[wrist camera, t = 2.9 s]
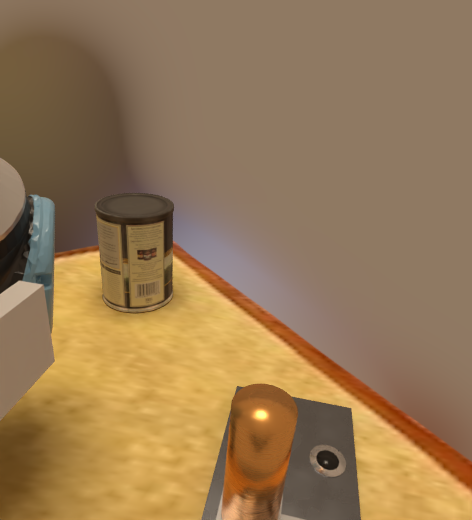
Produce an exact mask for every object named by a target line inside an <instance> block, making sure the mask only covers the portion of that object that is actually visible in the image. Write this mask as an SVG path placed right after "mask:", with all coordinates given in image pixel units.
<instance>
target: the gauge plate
mask: <svg viewBox="0 0 472 520" xmlns="http://www.w3.org/2000/svg"><path fill="white" fill-rule="evenodd" d="M242 388H244V387H239V386H237V389H236V392H235V394H236V393H237V392H238V391H239V390H240V389H242ZM292 398H293V400H294V401H295V403H296V405H297V408H298V417H297V423H296V428H295V433H294V438H293V443H292V448H291V454H290V459H289V464H288V469H287V474H286V479H285V485H284V490H283V499H282V510H281V514H284V515H288V516H292V517H296V518H301V519H305V520H361V517H360V505H359V494H358V482H357V470H356V459H355V447H354V435H353V423H352V412H351V408H347V407H342V406H337V405H331V404H326V403H321V402H316V401H311V400H306V399H301V398H296V397H292ZM230 415H231V411H230ZM230 415H229V418H228V422H227V426H226V430H225V433H224V437H223V441H222V445H221V448H220V452H219V456H218V460H217V463H216V467H215V471H214V474H213V478H212V482H211V486H210V489H209V493H208V497H207V501H206V504H205V508H204V512H203V516H202V519H201V520H216V517H217V513H218V508H219V504H220V500H221V496H222V491H223V487H224V477H225V467H226V456H227V446H228V436H229V425H230Z"/></svg>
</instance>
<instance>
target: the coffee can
mask: <svg viewBox="0 0 472 520" xmlns="http://www.w3.org/2000/svg"><path fill="white" fill-rule="evenodd" d="M95 211H96V214H97V215H96V216H97V227H98V239H99V251H100V263H101V275H102V288H103V300H104V302H105V303H106V304H107V305H108V306H109V307H111V308H113V309H116V310H118V311H122V312H129V313H140V312H147V311H152V310H155V309H158V308H160V307H162V306H164V305H165V304H167V303H168V302H169V301H170V300H171V298H172V296H173V290H172V260H173V251H172V250H173V234H172V233H173V211H174V204H173V202H172V201H170V200H169V199H167V198H164V197H162V196H158V195H153V194H145V193H144V194H143V193H124V194H117V195H111V196H108V197H105V198H102V199H100V200H99V201H97V202H96V203H95Z"/></svg>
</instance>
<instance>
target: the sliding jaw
mask: <svg viewBox="0 0 472 520" xmlns="http://www.w3.org/2000/svg"><path fill="white" fill-rule="evenodd" d="M297 417H298V408H297V405H296V403H295V401H294V400H293V398H292V397H291V396H290V395H289V394H288V393H287V392H285V391H284V390H282V389H280V388H278V387H275V386H272V385H268V384H253V385H249V386H246V387H244V388H242V389H240V390H239V391H238V392H237V393H236V394H235V396H234V397H233V400H232V405H231V415H230V425H229V436H228V446H227V456H226V467H225V477H224V487H223V491H222V496H221V500H220V504H219V508H218V513H217V517H216V520H305V519H301V518H296V517H292V516H288V515H284V514H281V510H282V499H283V490H284V485H285V479H286V474H287V469H288V464H289V459H290V454H291V448H292V443H293V438H294V433H295V428H296V423H297Z"/></svg>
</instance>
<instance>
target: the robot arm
mask: <svg viewBox="0 0 472 520" xmlns="http://www.w3.org/2000/svg"><path fill="white" fill-rule="evenodd" d="M54 238H55V205H54V203H53V202H52V201H51V200H50V199H48V198H44V197H39V196H38V195H29V196H28V197H27V196H26V191H25V188H24V185H23V182H22V180H21V177H20V176H19V174H18V173H17V171H16V170H15V169H14V168H13V167H12V166H11V165H10V164H9V163H7V162H6V161H4V160H3V159H2V158H0V421H1V419H2V418H3V417H4V416H5V415H6V414H7V413H8V412H9V411H10V410H11V408H12V407H13V406H14V405H15V404H16V403H17V402H18V401H19V400H20V399H21V397H22V396H23V395H24V394H25V393H26V392H27V391H28V390H29V389H30V388H31V387H32V385H33V384H34V383H35V382H36V381H37V380H38V379H39V378H40V377H41V376H42V374H43V373H44V372H45V371H46V370H47V369H48V368H49V367H50V366H51V365H52V363H53V362H54V361H55V360H54V353H53V346H52V339H51V333H52V328H53V296H54V241H55V239H54Z"/></svg>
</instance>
